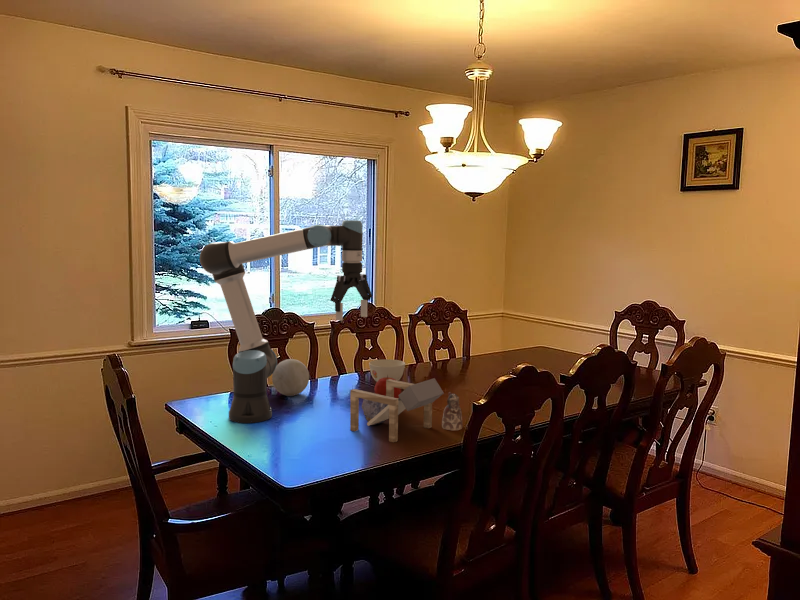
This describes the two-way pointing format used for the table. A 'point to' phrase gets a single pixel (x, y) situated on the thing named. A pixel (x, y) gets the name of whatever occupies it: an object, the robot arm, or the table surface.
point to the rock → (372, 409)
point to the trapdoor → (412, 398)
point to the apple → (381, 387)
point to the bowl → (386, 369)
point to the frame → (386, 399)
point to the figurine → (452, 414)
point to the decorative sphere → (290, 377)
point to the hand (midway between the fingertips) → (351, 318)
